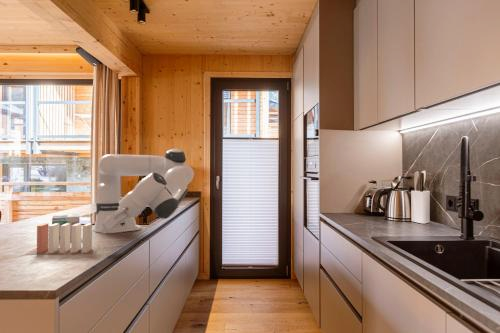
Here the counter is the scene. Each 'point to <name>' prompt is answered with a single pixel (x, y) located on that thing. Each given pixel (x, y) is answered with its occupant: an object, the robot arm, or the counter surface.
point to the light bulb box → (66, 221)
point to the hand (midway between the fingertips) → (103, 231)
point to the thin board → (34, 252)
